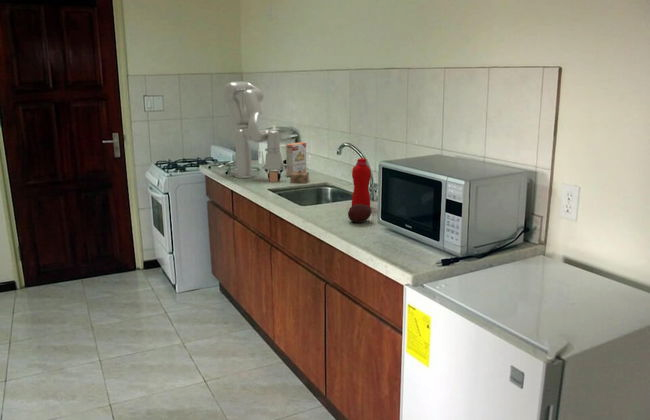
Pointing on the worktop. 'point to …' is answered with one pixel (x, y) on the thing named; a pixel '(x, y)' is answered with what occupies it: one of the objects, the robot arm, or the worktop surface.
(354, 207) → the potato
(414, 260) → the worktop surface
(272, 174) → the terracotta block
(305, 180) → the walnut base
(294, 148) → the cracker box
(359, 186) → the water bottle
